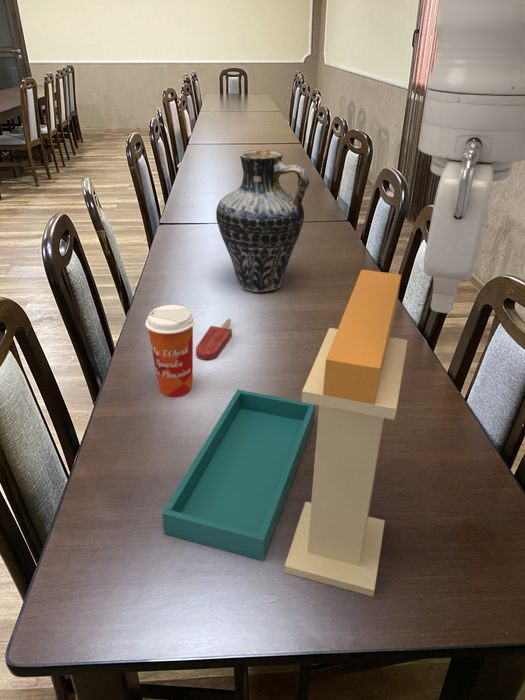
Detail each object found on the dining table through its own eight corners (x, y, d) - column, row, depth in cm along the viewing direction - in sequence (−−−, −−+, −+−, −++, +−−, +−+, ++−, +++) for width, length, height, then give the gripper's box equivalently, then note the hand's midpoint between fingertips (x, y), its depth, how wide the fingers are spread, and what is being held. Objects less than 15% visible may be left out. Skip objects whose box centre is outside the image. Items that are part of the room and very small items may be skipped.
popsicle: (239, 317, 110) (214, 354, 98) (240, 324, 111) (214, 362, 99) (219, 314, 111) (191, 351, 99) (219, 321, 112) (191, 358, 100)
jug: (206, 294, 123) (199, 158, 108) (234, 264, 139) (232, 142, 124) (293, 307, 118) (300, 166, 102) (312, 274, 134) (320, 148, 118)
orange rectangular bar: (358, 298, 62) (361, 269, 60) (396, 303, 61) (401, 274, 59) (322, 394, 46) (325, 359, 44) (374, 404, 45) (380, 368, 43)
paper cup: (146, 398, 89) (137, 323, 81) (160, 373, 95) (153, 301, 88) (193, 403, 88) (188, 327, 80) (203, 377, 94) (200, 305, 87)
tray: (237, 407, 87) (237, 389, 85) (313, 422, 84) (315, 404, 82) (164, 534, 65) (161, 513, 63) (263, 561, 62) (263, 540, 60)
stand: (306, 502, 70) (319, 326, 56) (384, 520, 67) (417, 341, 54) (281, 579, 60) (290, 388, 46) (372, 605, 57) (409, 411, 44)
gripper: (522, 157, 34) (476, 346, 41) (518, 116, 50) (485, 256, 57) (420, 150, 36) (393, 331, 43) (447, 112, 52) (425, 248, 59)
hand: (446, 288), depth 50 cm, fingers open, 8 cm apart
